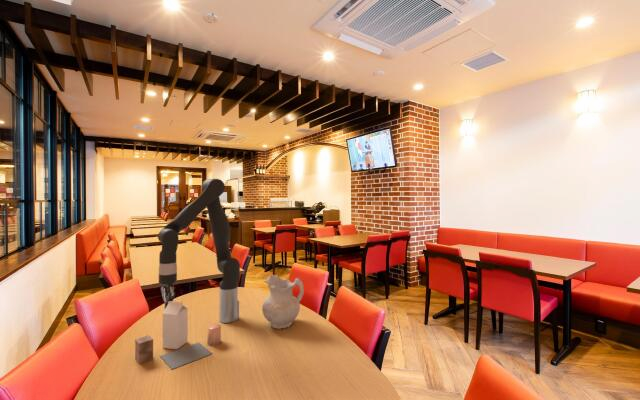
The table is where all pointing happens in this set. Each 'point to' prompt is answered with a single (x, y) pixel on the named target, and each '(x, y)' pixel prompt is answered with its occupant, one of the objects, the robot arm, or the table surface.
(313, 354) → the table surface
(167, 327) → the milk carton
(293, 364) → the table surface
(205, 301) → the table surface
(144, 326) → the table surface
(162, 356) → the mat
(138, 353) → the wooden block
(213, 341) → the pink rounded glossy part
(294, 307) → the ceramic pitcher
